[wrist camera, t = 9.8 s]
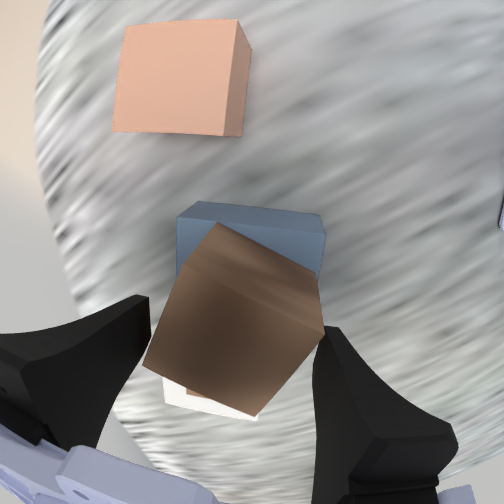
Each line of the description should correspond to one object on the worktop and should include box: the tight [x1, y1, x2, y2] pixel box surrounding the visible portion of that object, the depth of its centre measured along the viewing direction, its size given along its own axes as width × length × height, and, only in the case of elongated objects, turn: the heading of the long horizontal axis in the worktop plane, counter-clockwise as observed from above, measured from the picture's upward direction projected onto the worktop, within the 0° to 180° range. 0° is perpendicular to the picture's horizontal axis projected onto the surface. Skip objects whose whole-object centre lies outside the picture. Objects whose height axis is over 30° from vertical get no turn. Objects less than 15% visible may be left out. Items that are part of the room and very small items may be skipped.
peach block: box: [112, 19, 252, 137], centre depth 14 cm, size 5×5×5 cm
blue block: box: [176, 201, 326, 282], centre depth 17 cm, size 7×7×4 cm
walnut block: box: [142, 222, 325, 417], centre depth 13 cm, size 5×5×5 cm
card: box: [163, 377, 259, 421], centre depth 23 cm, size 8×8×1 cm
